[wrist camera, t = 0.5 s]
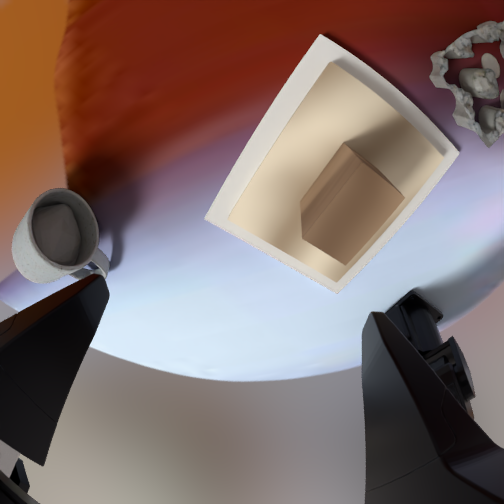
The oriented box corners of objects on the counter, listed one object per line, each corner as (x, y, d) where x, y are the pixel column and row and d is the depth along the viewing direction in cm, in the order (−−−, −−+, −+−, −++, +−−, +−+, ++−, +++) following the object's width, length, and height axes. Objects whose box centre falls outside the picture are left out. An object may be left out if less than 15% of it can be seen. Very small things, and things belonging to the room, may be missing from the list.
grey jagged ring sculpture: (488, 17, 8) (516, 13, 5) (525, 94, 11) (555, 102, 7) (412, 56, 13) (439, 51, 9) (459, 142, 15) (489, 156, 12)
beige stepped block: (438, 154, 16) (483, 182, 11) (335, 275, 22) (343, 329, 17) (328, 62, 14) (347, 49, 9) (229, 213, 21) (209, 259, 16)
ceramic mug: (38, 211, 24) (-7, 249, 17) (70, 174, 21) (14, 212, 15) (89, 281, 29) (56, 327, 22) (131, 260, 26) (93, 315, 19)
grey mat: (455, 151, 16) (459, 153, 15) (336, 289, 24) (337, 293, 23) (319, 35, 13) (320, 34, 13) (206, 215, 22) (204, 218, 21)
